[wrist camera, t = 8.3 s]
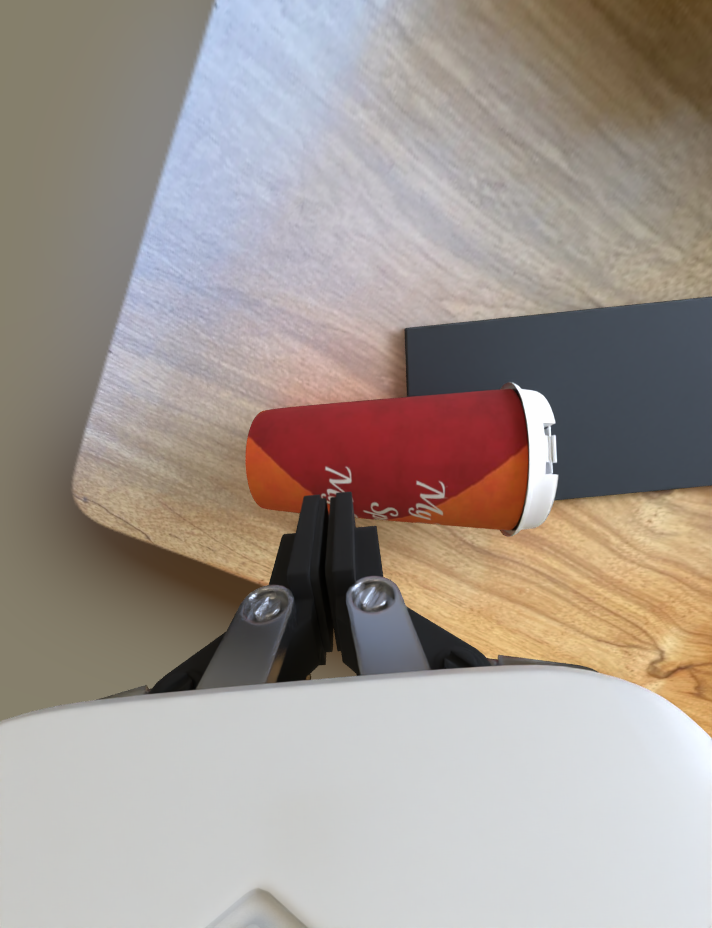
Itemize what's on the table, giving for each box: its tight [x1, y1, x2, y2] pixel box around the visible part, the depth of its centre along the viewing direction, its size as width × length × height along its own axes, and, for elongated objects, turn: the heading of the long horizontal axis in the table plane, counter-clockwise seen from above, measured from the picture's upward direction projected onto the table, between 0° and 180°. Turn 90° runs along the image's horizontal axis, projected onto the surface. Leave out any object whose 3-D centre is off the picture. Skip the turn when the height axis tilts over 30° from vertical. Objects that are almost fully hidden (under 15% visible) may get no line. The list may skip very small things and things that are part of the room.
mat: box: [405, 297, 712, 500], centre depth 22 cm, size 30×12×1 cm, turn 95°
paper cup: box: [246, 382, 558, 536], centre depth 19 cm, size 8×8×14 cm
